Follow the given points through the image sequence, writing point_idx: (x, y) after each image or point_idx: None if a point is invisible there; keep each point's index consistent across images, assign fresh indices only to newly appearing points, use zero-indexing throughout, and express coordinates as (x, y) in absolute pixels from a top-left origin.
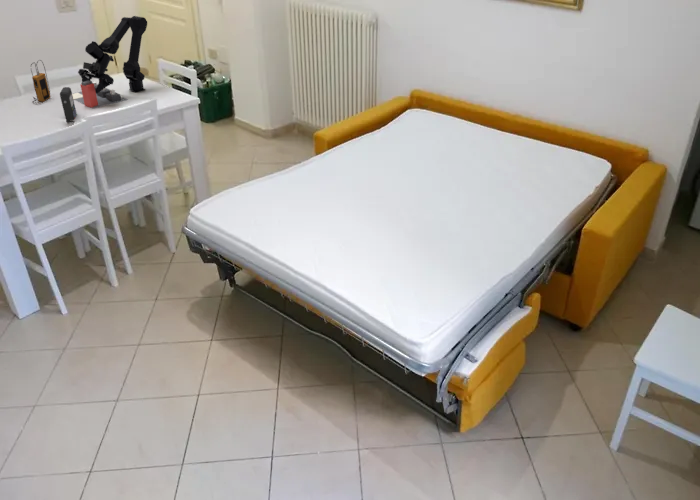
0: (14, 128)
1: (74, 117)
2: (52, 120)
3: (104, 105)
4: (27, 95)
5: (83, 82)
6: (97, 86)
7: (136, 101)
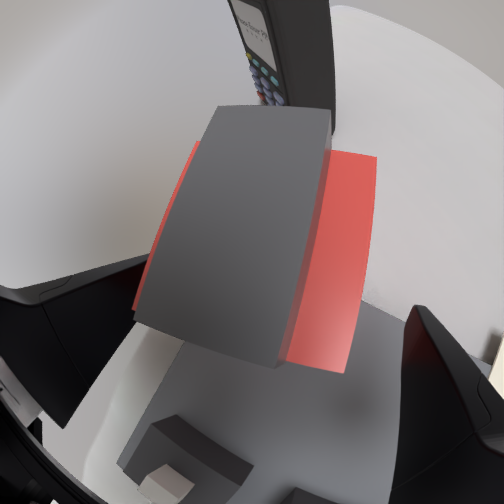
0: (412, 39)
1: (261, 93)
2: (373, 90)
3: None
4: None
5: (284, 130)
6: (95, 279)
7: (105, 469)
